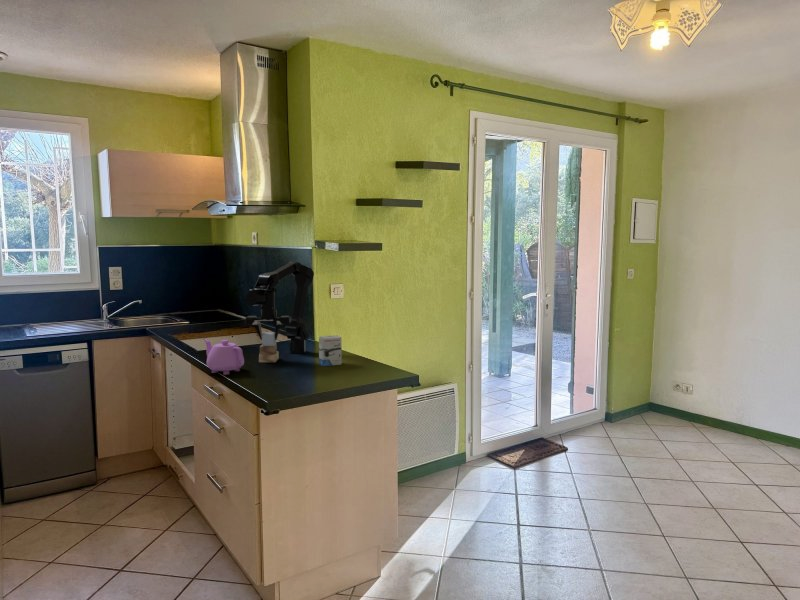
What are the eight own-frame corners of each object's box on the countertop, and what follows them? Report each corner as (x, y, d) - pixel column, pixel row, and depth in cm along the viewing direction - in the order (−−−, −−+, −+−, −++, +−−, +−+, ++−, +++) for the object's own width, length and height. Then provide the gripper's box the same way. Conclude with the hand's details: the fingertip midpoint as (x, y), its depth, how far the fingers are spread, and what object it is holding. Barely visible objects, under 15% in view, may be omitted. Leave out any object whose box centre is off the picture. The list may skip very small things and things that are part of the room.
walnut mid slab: (276, 351, 243) (276, 343, 242) (274, 354, 237) (273, 346, 236) (262, 351, 242) (262, 343, 242) (259, 354, 236) (259, 346, 236)
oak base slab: (278, 359, 244) (278, 351, 243) (275, 362, 237) (275, 354, 236) (262, 359, 244) (262, 351, 243) (259, 362, 237) (258, 354, 236)
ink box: (322, 366, 229) (322, 338, 228) (318, 364, 234) (318, 336, 232) (342, 364, 233) (341, 336, 232) (337, 362, 237) (337, 334, 236)
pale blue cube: (276, 343, 242) (276, 332, 241) (274, 346, 237) (274, 334, 237) (264, 343, 242) (264, 332, 241) (262, 345, 237) (262, 334, 236)
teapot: (191, 372, 219) (190, 340, 217) (218, 364, 231) (217, 335, 230) (230, 378, 210) (229, 345, 209) (255, 370, 223) (255, 339, 221)
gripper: (292, 301, 246) (293, 336, 248) (250, 301, 245) (251, 336, 247) (288, 304, 235) (289, 341, 237) (244, 304, 234) (245, 341, 236)
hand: (268, 339), depth 239 cm, fingers open, 6 cm apart
